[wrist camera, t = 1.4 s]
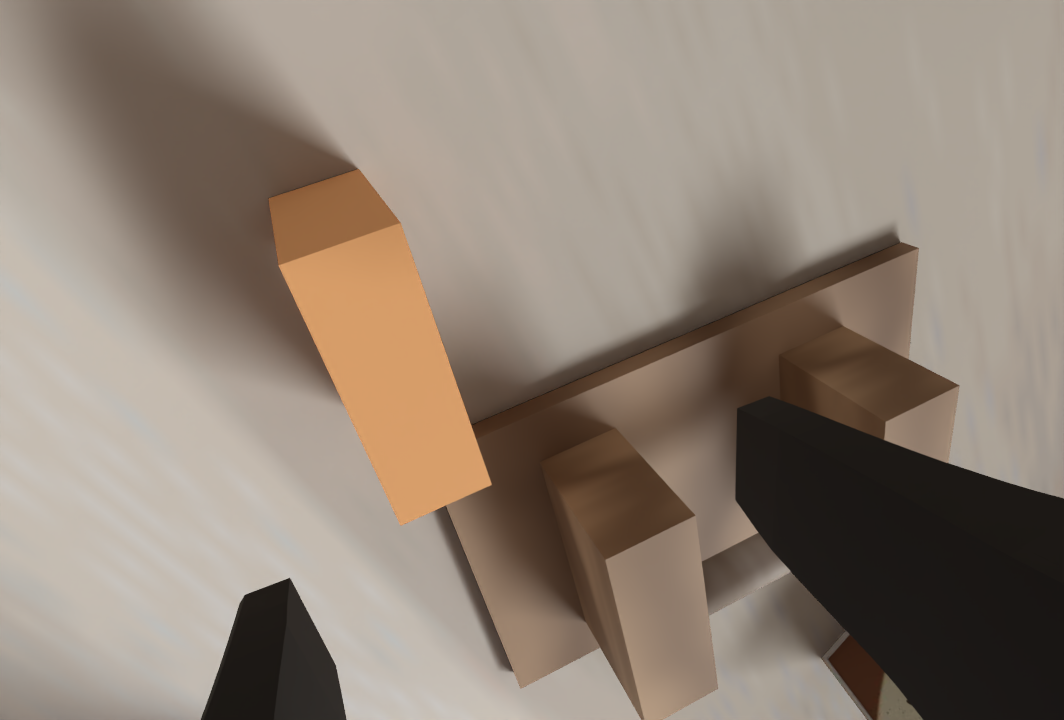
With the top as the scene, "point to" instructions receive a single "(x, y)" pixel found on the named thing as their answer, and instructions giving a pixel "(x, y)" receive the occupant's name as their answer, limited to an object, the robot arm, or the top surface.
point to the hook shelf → (679, 477)
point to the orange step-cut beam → (378, 340)
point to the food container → (867, 682)
